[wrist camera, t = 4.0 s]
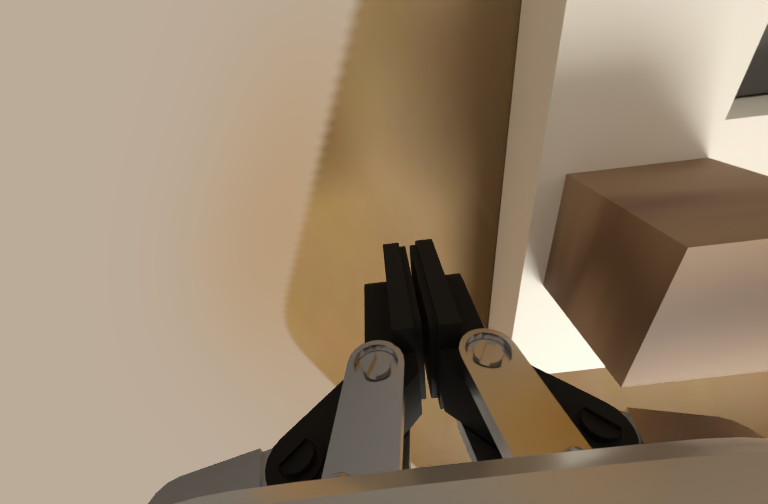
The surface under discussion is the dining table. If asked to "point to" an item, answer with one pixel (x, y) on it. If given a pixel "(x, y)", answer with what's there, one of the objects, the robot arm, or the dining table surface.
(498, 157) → the dining table surface
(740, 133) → the tray
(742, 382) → the dining table surface
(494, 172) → the dining table surface
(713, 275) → the block
